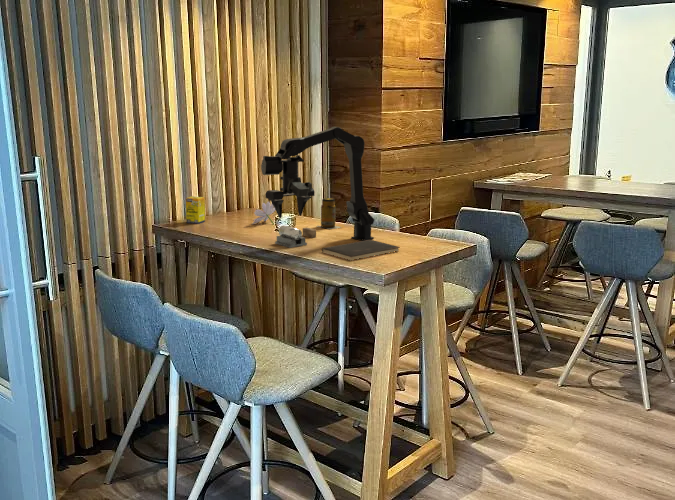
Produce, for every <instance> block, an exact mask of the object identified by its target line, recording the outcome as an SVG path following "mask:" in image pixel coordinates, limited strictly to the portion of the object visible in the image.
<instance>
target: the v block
mask: <svg viewBox="0 0 675 500" xmlns="http://www.w3.org/2000/svg"><path fill="white" fill-rule="evenodd" d="M274 244H275V245H279V246H282V247H285V248H289V249H292V248H297V247H303V245H304V246H307V245H308V243H307V242H306V237H305V236H301V238H300V239H299V240H296V239H292V238H289V237H285V236H281V235H280V234H279V235H277V236H276V240H275V241H274Z"/></svg>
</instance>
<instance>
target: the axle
mask: <svg viewBox="0 0 675 500" xmlns="http://www.w3.org/2000/svg"><path fill="white" fill-rule="evenodd" d="M278 235H279V236H280V235H281V236H285V237H289V238H292V239H296V240H299V239H300V238H301V237H303V231H302V230H301V229H299V228H295V227H291V226H287V225H281V226H279V228H278Z"/></svg>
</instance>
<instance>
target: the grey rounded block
mask: <svg viewBox="0 0 675 500" xmlns="http://www.w3.org/2000/svg"><path fill="white" fill-rule="evenodd" d="M302 237H305V238H306V237H307V238H311V239H314V238H317V229H314V228H310V227H308V226H307V227H302Z"/></svg>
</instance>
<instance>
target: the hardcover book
mask: <svg viewBox="0 0 675 500" xmlns="http://www.w3.org/2000/svg"><path fill="white" fill-rule="evenodd" d="M400 247H401V246H399V245H393V244H389V243H385V242H382V241H378V240H373V239H368V240H363V241H362V240H359V241H356V242H355V241H354V242H349V243H344V244H338V245H333V246H327V247H322V248H321V253H324V254H327V255H331V256H333V255H334V257H337V256H338V257H337V258H340V257H342V258H341V259H344V258H345V259H344V260H347V259H348V260H347V261H351V260H352V261H355V260H354V259H357V260H360V259H359V258H363V259H365V258H364V257H368V258H370V257H369V256H373V257H375V256H374V255H378V256H380V255H379V254H383V255H385V254H384V253H388V254H390V253H389V252H394V251H398V252H399V251H400V250H399V249H400ZM394 253H395V252H394Z"/></svg>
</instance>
